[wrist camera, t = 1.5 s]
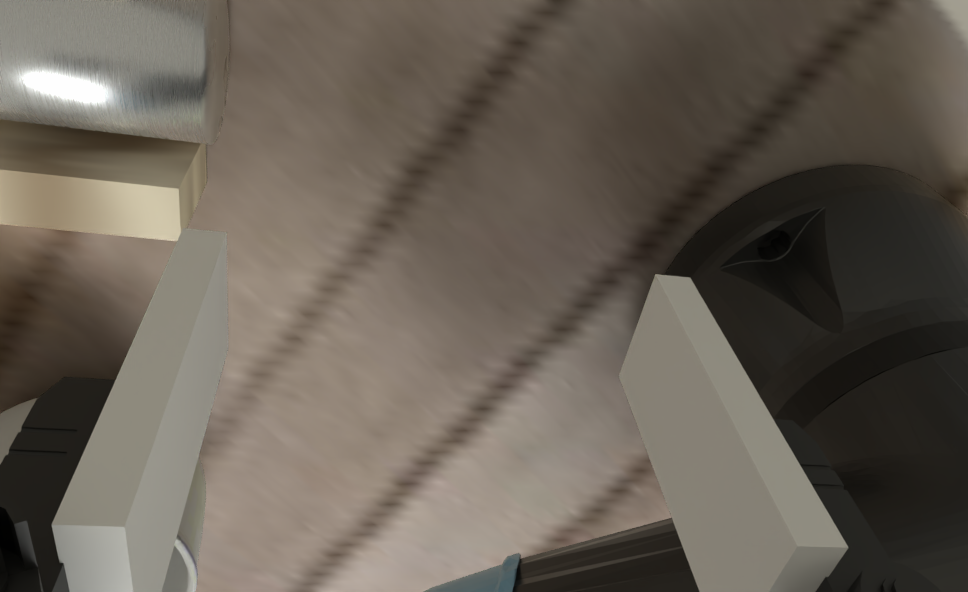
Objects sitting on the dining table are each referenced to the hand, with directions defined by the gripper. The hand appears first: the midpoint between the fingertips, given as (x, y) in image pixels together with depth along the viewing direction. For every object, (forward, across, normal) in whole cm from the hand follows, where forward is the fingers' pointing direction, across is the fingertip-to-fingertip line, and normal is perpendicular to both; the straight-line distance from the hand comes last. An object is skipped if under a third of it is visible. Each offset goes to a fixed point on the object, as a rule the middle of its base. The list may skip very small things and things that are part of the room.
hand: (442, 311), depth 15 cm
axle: (+15, +12, 0) cm, 19 cm away
